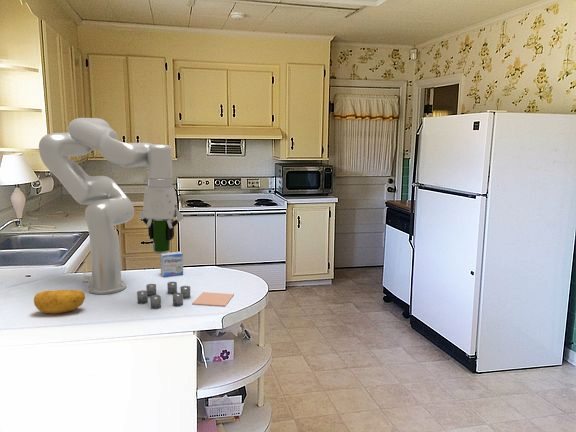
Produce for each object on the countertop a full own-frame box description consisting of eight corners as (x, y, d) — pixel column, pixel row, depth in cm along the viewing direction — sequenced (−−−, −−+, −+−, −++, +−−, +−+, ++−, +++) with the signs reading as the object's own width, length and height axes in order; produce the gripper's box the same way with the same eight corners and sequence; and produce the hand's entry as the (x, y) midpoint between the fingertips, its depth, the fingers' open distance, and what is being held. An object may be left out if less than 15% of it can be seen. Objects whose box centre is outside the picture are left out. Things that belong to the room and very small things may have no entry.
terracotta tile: (192, 304, 157) (192, 303, 157) (202, 293, 168) (202, 292, 168) (225, 306, 156) (225, 305, 156) (233, 295, 166) (233, 294, 166)
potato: (82, 315, 147) (81, 293, 146) (31, 318, 145) (29, 295, 143) (87, 306, 154) (86, 285, 153) (39, 309, 152) (37, 287, 150)
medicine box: (163, 277, 185) (162, 255, 183) (160, 274, 189) (159, 252, 187) (183, 275, 188) (183, 253, 187) (180, 271, 192) (179, 250, 191)
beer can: (156, 254, 155) (155, 218, 152) (150, 250, 159) (150, 215, 157) (172, 252, 158) (171, 216, 155) (166, 249, 162) (166, 213, 160)
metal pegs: (130, 307, 154) (130, 297, 153) (153, 289, 171) (152, 280, 170) (177, 310, 152) (176, 300, 151) (195, 292, 168) (194, 282, 168)
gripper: (129, 183, 152) (131, 240, 155) (181, 186, 149) (182, 243, 153) (139, 181, 159) (141, 234, 162) (190, 183, 157) (190, 238, 160)
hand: (161, 238), depth 158 cm, fingers closed on beer can, 5 cm apart
